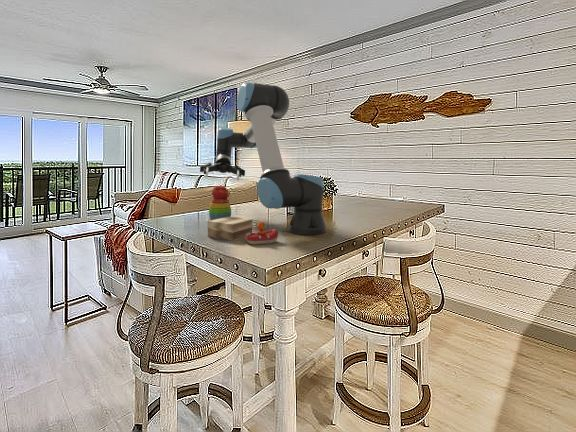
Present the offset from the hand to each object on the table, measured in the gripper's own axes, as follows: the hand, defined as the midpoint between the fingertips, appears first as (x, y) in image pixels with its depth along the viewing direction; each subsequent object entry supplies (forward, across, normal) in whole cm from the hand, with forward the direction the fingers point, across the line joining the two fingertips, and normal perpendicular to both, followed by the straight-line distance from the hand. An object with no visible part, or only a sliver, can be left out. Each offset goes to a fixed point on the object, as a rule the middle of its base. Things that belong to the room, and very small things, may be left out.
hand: (222, 175), depth 158 cm
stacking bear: (+11, -1, -20) cm, 23 cm away
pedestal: (+28, -4, -15) cm, 32 cm away
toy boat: (+39, -15, -12) cm, 44 cm away
